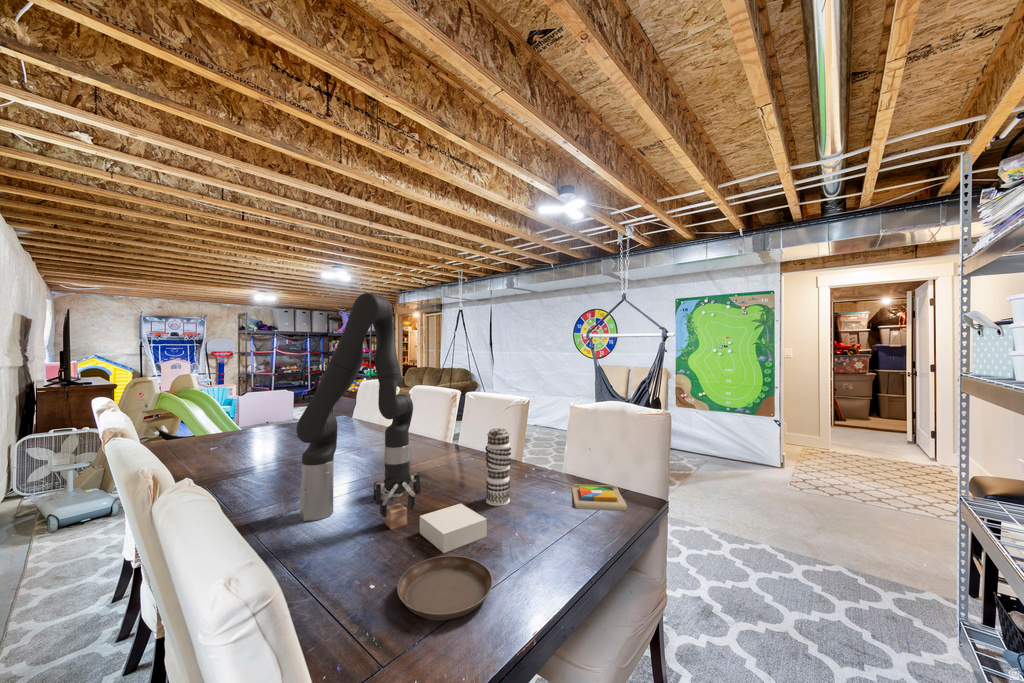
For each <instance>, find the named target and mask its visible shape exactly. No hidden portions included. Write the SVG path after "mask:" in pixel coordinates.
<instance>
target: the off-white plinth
mask: <svg viewBox="0 0 1024 683" xmlns="http://www.w3.org/2000/svg"><path fill="white" fill-rule="evenodd" d="M487 520H488V519H487V518H486V517H484V516H482V515H480V514H479V513H477V512H476V511H474V510H473V509H471V508H469V507H467V506H466V505H464V504H463V503H461V502H460V503H457V504H454V505H451V506H448V507H445V508H442V509H439V510H438V509H437V510H435V511H431V512H428V513H425V514H421V515H419V534H420V535H421V536H422V537H423V538H425V539H426V540H427V541H428V542H430V543H431V544H432V545H434V546H435V547H436V549H438V550H439V551H441V553H443V554H446V553H448V552H450V551H454V550H455V549H456V550H457V549H458V548H460V547H464V546H465V545H469V544H471V543H474V542H476V541H478V540H481V539H484V538H487V536H488V535H487V529H488V528H487V526H488V524H487V523H488V521H487Z"/></svg>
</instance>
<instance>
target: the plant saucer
mask: <svg viewBox="0 0 1024 683" xmlns="http://www.w3.org/2000/svg"><path fill="white" fill-rule="evenodd" d="M493 583H494V580H493V576H492V573H491V571H490V570H489V568H488V567H487V566H486V565H484V564H483V563H481V562H480V561H478V560H475V559H473V558H471V557H465V556H459V555H444V556H442V555H441V556H437V557H432V558H427V559H426V560H423V561H420V562H418V563H416V564H414V565H412V566H410V568H408V569H407V570H406V571H405V572H404V573H403V574H402V575H401V576H400V578H399V580H398V583H397V587H396V588H397V596H398V597H399V599H400V601H401V602H402V604H403V605H404V606H405V607H406V608H407V609H408V610H409V611H411V613H413V614H415V615H417V616H419V617H420V618H422V619H423V618H424V619H427V620H433V621H449V620H453V619H458V618H461V617H463V616H466V615H467V614H469V613H471V612H473V611H474V610H476V609H477V608H478V607H479V606H480V605H481V604H483V602H484V601H485V600H486V598H487V597H488V595H489V594H490V592H491V590H492V589H493V588H492V587H493Z"/></svg>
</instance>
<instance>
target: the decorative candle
mask: <svg viewBox="0 0 1024 683" xmlns="http://www.w3.org/2000/svg"><path fill="white" fill-rule="evenodd" d="M486 435H487V442H486V446H485V451H486V452H485V456H486V457H485V461H486V463H485V465H486V470H487V476H486V481H485V483H486V486H485V487H486V489H485V493H486V494H485V498H486V499H485V500H486V503H487V504H488V505H491V506H497V507H498V506H501V507H502V506H505V505H507V504H509V503H510V502H511V500H510V497H511V494H510V493H511V490H510V487H511V484H510V483H511V480H510V474H509V472H510V471H509V470H510V469H511V462H510V461H511V457H510V456H511V455H512V452H510V451H511V450H512V448H511V447H510V433H509V432H508V431H507V429H505V428H491V429H490V430H489V431H488V433H486Z"/></svg>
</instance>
